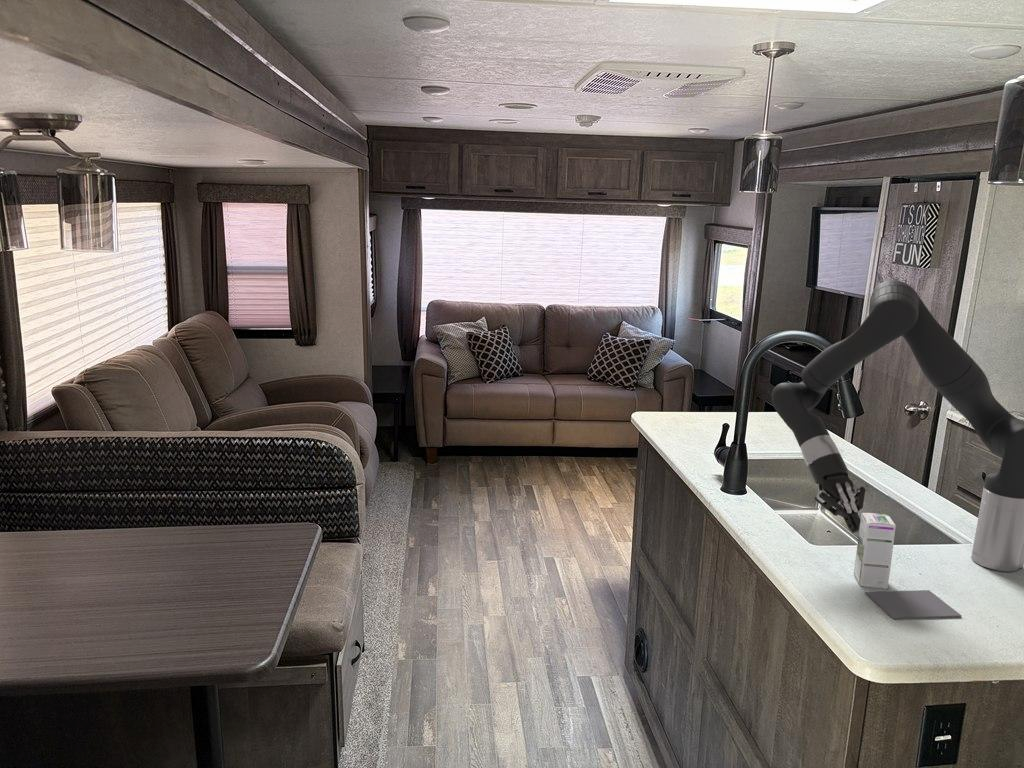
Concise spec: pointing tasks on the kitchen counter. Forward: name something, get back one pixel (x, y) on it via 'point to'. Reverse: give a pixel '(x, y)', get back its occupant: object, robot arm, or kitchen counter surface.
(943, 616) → the mat
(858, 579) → the syrup box
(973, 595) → the kitchen counter surface
